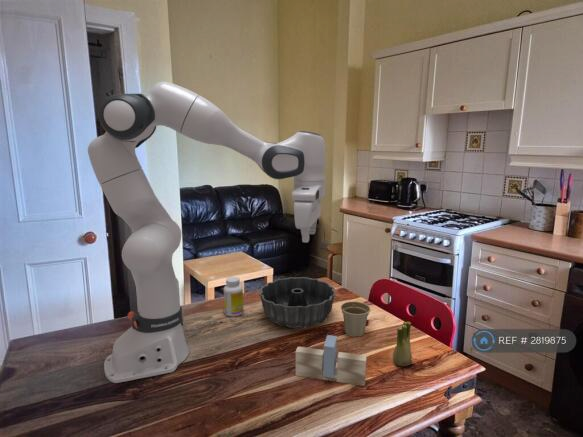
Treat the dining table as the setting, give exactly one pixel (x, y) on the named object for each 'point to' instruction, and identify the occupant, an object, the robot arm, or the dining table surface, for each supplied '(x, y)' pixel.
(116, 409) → the dining table surface
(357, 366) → the beech slot board
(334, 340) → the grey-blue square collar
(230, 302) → the supplement bottle
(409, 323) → the fennel bulb
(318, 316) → the bundt pan
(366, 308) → the flower pot
